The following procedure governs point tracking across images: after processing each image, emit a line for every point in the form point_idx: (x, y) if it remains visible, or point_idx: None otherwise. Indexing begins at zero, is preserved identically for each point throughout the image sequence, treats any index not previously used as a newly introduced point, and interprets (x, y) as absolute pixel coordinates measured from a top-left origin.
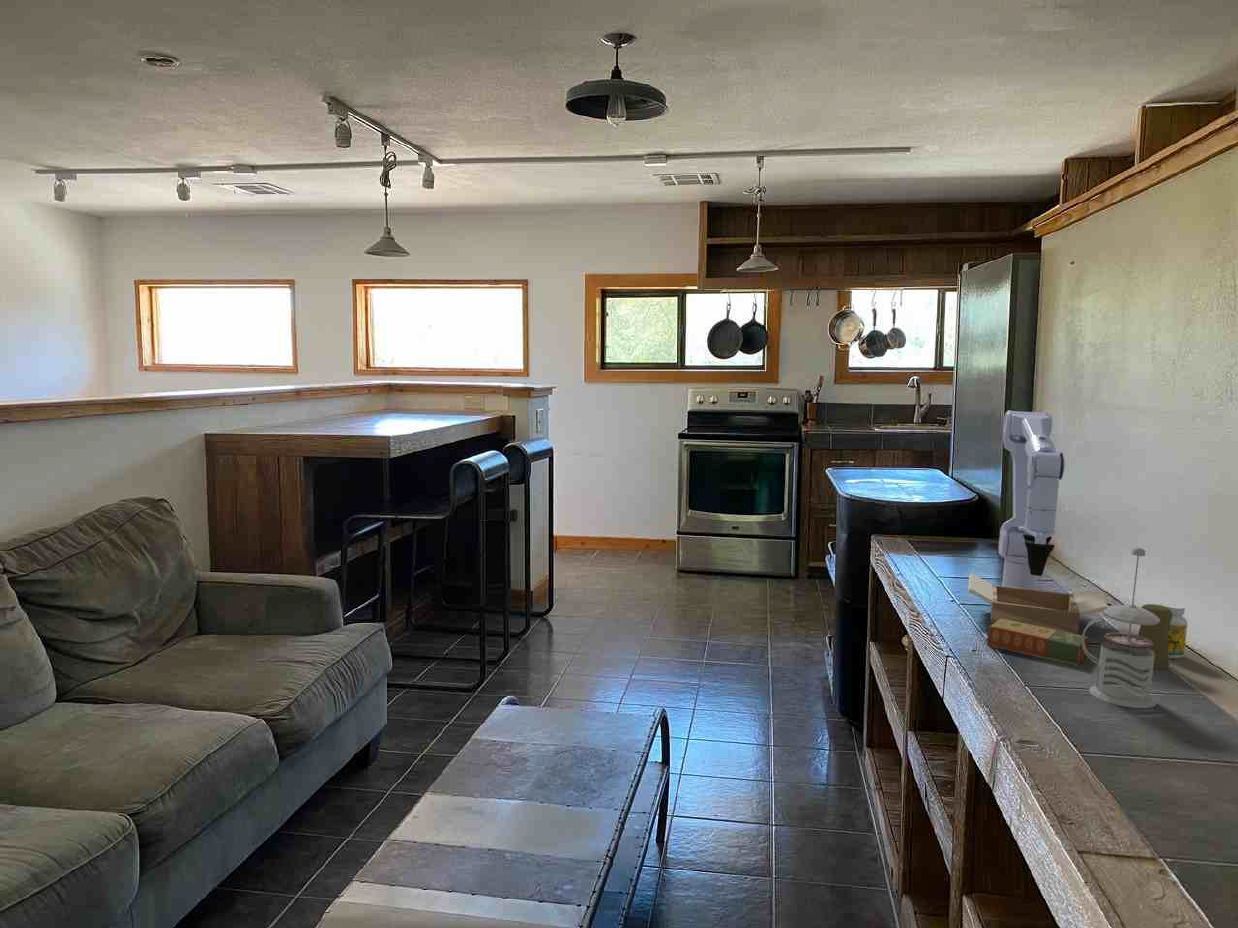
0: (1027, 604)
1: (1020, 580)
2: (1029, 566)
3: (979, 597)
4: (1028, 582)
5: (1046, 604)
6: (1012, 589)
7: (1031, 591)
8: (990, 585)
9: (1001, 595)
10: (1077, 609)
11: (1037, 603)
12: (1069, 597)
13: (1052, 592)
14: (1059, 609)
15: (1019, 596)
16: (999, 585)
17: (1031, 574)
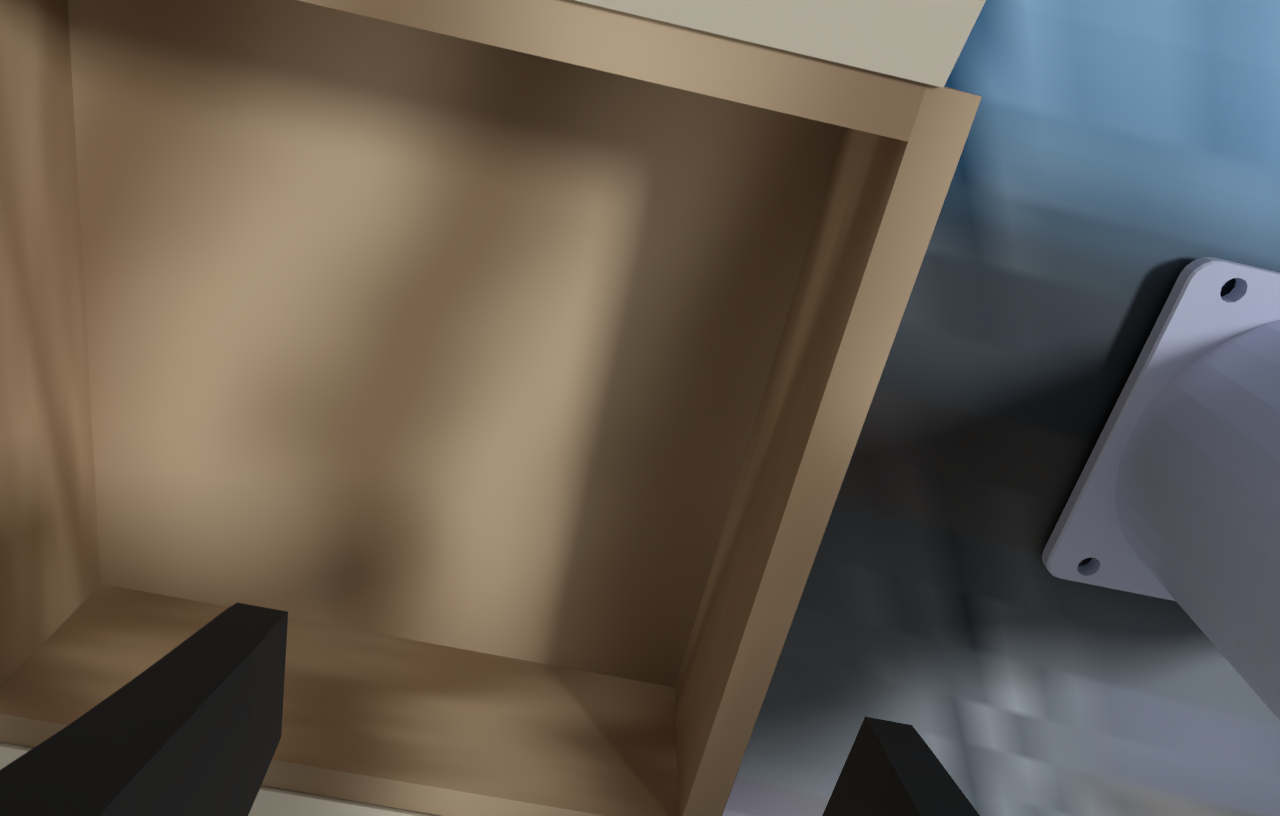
0: (761, 436)
1: (1254, 543)
2: (197, 683)
3: None
4: (1217, 612)
5: (720, 593)
6: (833, 342)
7: (770, 536)
8: (829, 24)
9: (854, 197)
10: None
11: (738, 526)
12: (602, 806)
13: (727, 719)
14: (689, 661)
15: (793, 392)
16: (939, 196)
17: (222, 614)
